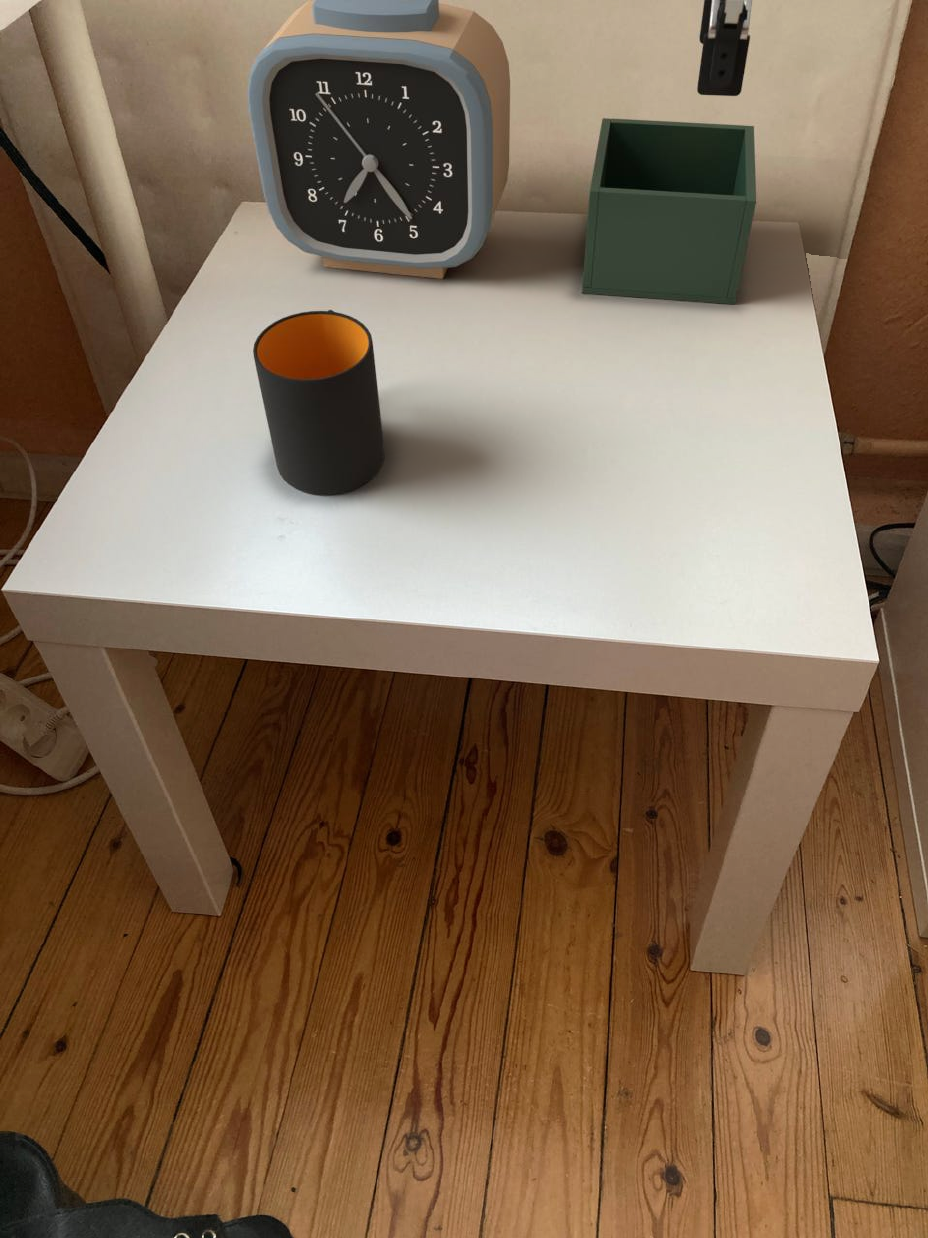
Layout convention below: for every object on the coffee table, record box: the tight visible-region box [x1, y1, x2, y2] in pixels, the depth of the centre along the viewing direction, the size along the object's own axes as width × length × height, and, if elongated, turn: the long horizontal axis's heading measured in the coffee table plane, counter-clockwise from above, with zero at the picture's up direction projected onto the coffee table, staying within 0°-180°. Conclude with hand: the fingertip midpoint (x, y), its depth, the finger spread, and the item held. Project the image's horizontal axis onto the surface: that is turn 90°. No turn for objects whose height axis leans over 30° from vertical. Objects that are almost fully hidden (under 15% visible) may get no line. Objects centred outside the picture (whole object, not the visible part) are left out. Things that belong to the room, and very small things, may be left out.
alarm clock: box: [246, 0, 511, 280], centre depth 89 cm, size 21×10×22 cm, turn 78°
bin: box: [581, 117, 757, 305], centre depth 92 cm, size 14×14×10 cm
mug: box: [252, 309, 385, 496], centre depth 76 cm, size 8×12×10 cm
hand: (718, 67), depth 79 cm, fingers open, 9 cm apart
